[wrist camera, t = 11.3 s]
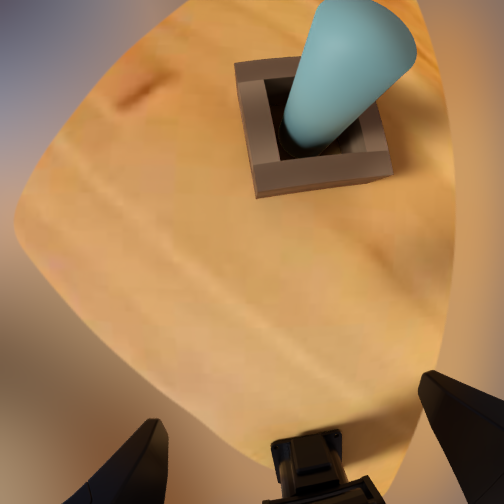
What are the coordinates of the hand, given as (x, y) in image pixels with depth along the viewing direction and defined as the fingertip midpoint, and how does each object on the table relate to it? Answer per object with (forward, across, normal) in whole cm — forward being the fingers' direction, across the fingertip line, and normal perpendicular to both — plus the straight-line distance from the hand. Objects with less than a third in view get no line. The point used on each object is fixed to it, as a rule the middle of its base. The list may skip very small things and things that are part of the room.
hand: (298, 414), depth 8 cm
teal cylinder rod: (+15, -4, -9) cm, 18 cm away
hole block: (+15, -4, -9) cm, 18 cm away
